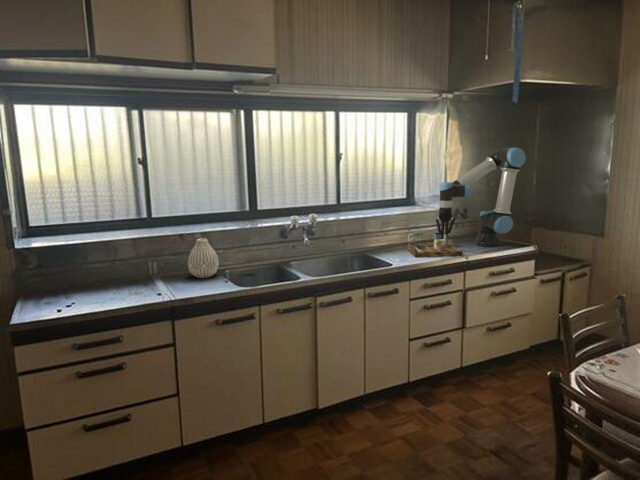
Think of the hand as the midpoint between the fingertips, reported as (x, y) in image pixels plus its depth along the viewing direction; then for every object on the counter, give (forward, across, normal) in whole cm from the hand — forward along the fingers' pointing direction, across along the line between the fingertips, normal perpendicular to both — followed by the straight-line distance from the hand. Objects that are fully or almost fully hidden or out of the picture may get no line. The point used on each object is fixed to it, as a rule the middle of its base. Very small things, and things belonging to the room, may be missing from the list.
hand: (444, 244), depth 309 cm
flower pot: (+5, -3, -15) cm, 16 cm away
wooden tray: (+5, +7, +4) cm, 10 cm away
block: (+2, +3, 0) cm, 4 cm away
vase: (+6, +144, +43) cm, 150 cm away
